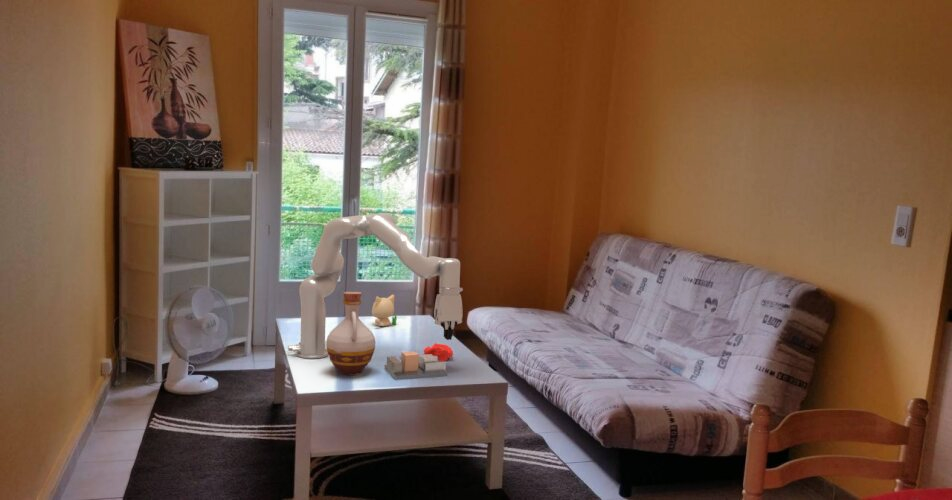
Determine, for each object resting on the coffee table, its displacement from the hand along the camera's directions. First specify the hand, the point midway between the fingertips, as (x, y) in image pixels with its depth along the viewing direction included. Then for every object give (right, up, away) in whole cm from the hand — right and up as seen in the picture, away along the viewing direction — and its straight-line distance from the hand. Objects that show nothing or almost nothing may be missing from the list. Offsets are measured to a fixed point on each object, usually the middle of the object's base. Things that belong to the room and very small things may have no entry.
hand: (448, 338), depth 270 cm
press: (-12, -12, -3) cm, 17 cm away
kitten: (-34, -3, +70) cm, 77 cm away
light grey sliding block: (-8, -10, -2) cm, 13 cm away
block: (-14, -11, -4) cm, 18 cm away
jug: (-36, -12, -7) cm, 38 cm away
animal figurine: (-5, -10, +20) cm, 23 cm away
